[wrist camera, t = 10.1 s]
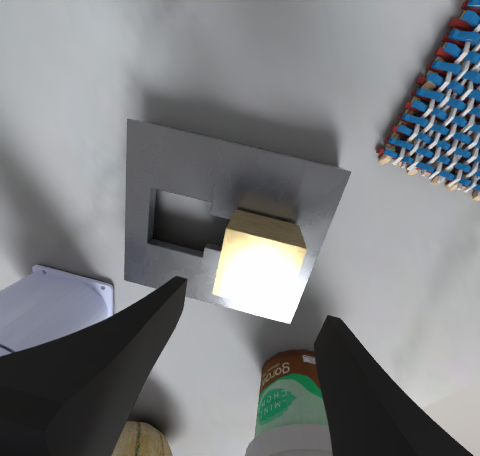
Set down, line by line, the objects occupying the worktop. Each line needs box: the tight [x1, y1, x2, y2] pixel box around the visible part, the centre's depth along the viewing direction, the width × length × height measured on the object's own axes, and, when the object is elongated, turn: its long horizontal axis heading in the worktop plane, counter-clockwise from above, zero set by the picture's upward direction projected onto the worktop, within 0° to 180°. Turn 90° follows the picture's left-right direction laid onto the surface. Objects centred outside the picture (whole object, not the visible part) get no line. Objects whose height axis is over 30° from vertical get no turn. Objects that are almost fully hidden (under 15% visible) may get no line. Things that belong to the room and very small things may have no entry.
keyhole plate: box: [124, 119, 351, 324], centre depth 19 cm, size 16×14×3 cm
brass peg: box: [212, 209, 307, 313], centre depth 17 cm, size 5×5×8 cm
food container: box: [245, 350, 333, 456], centre depth 22 cm, size 12×6×10 cm, turn 151°
